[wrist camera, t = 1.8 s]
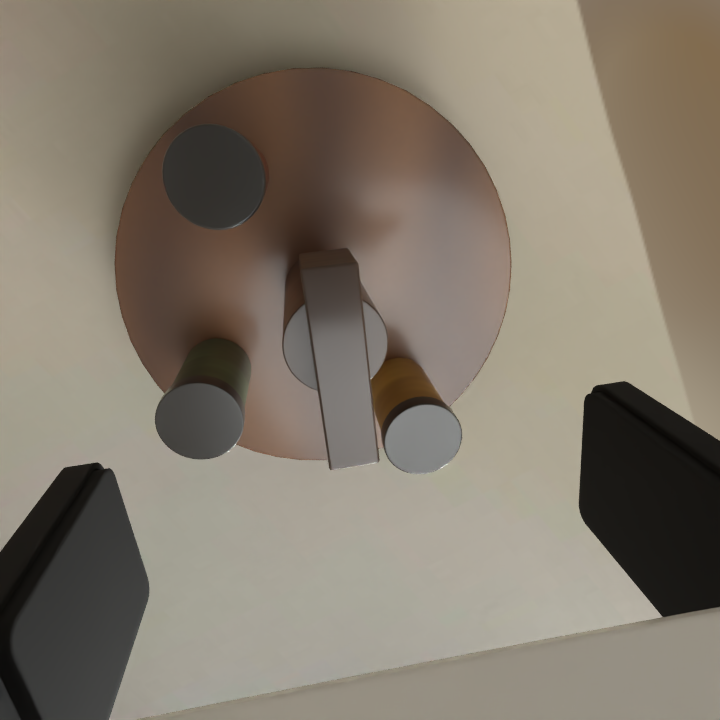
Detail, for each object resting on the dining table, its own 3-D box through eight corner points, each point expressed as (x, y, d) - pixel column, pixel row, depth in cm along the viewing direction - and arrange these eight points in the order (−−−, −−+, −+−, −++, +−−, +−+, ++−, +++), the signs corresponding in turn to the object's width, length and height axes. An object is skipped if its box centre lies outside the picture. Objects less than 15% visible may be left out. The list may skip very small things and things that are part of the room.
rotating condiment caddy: (504, 50, 23) (689, -47, 13) (505, 424, 30) (625, 571, 19) (66, 94, 22) (-154, 28, 11) (172, 476, 29) (101, 666, 18)
